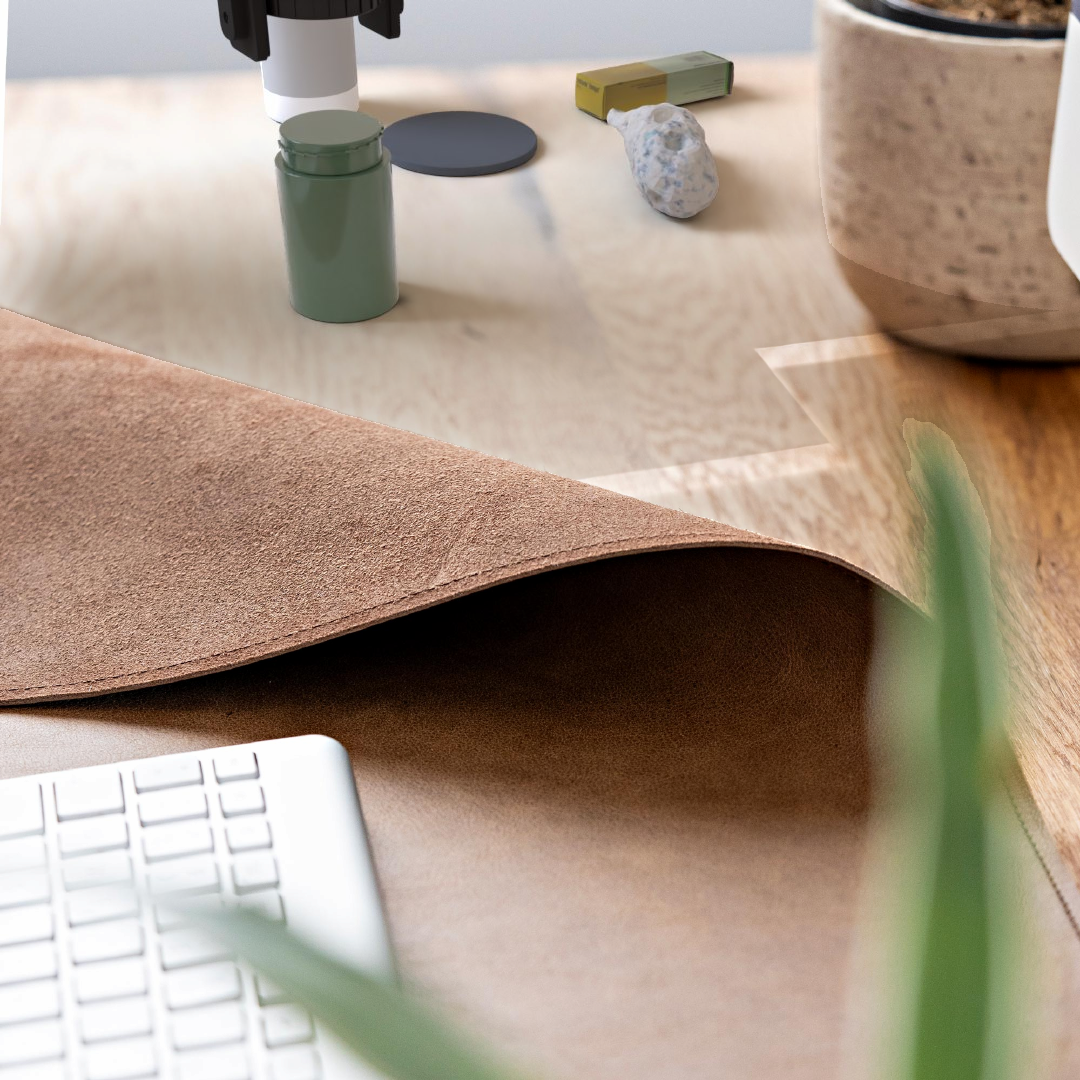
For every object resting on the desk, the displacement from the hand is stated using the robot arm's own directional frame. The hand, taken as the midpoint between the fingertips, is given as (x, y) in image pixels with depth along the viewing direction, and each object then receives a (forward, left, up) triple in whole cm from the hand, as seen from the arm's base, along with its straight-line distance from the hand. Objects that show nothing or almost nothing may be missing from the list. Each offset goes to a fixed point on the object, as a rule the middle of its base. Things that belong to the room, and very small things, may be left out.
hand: (316, 39), depth 63 cm
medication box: (+28, +24, -13) cm, 39 cm away
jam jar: (0, 0, -14) cm, 14 cm away
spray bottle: (+2, +30, -14) cm, 33 cm away
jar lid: (0, 0, +3) cm, 3 cm away
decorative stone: (+23, +11, -14) cm, 29 cm away
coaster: (+11, +21, -14) cm, 27 cm away
